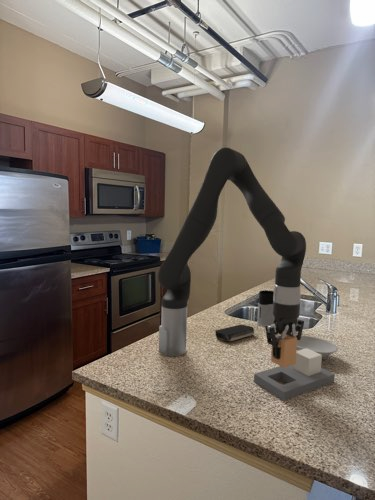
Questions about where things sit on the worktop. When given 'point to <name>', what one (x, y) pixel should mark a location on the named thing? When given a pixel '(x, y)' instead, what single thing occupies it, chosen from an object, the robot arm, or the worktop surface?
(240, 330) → the black sponge
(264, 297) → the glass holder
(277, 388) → the square-hole base plate
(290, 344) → the plug
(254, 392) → the worktop surface
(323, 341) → the dish
